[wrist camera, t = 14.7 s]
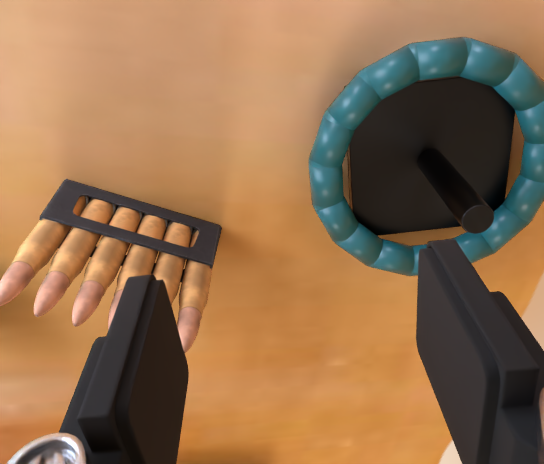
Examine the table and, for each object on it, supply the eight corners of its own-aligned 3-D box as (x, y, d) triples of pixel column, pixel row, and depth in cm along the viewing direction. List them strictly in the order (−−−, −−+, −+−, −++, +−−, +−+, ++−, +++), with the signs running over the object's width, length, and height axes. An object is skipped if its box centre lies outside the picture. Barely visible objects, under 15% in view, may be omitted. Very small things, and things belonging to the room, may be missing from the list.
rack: (344, 85, 31) (374, 134, 23) (511, 65, 31) (601, 107, 23) (350, 230, 36) (377, 311, 28) (495, 214, 36) (565, 291, 27)
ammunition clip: (222, 226, 35) (207, 343, 25) (214, 247, 36) (196, 370, 26) (64, 178, 34) (-24, 284, 23) (60, 202, 34) (-27, 315, 24)
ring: (298, 53, 29) (301, 60, 27) (569, 21, 28) (589, 25, 27) (316, 274, 36) (320, 291, 34) (532, 252, 36) (546, 267, 34)
